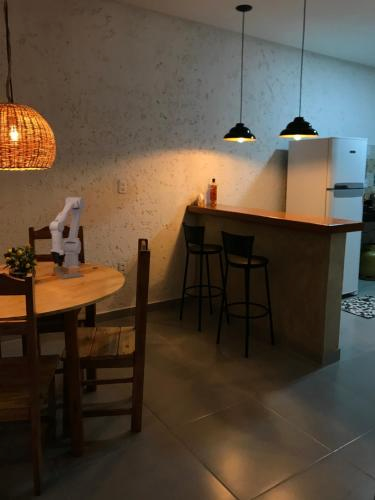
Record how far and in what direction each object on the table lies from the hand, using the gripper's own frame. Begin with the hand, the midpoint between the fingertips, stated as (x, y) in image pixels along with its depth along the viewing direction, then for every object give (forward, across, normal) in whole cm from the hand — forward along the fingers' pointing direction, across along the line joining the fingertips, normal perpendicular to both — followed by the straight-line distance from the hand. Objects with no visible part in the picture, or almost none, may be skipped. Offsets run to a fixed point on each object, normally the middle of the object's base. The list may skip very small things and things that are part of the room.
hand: (58, 264), depth 239 cm
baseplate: (+5, +10, +4) cm, 12 cm away
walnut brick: (+5, 0, 0) cm, 5 cm away
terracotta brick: (+5, +3, +8) cm, 10 cm away
